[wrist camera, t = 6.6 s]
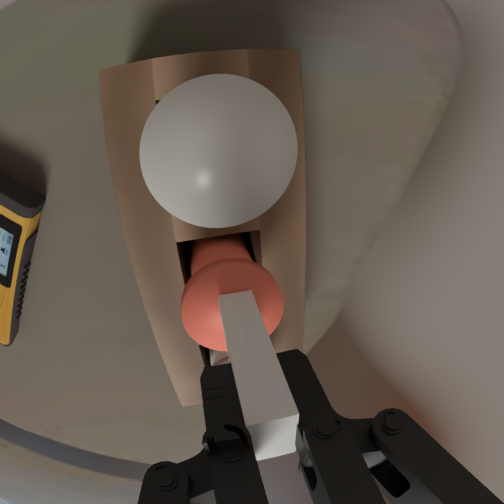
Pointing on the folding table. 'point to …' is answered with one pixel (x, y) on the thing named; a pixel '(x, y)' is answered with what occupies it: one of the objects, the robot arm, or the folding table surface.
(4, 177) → the electronic device
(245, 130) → the grey plug
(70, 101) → the folding table surface
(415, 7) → the folding table surface
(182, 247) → the socket block
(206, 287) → the red plug
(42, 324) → the folding table surface
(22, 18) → the folding table surface
